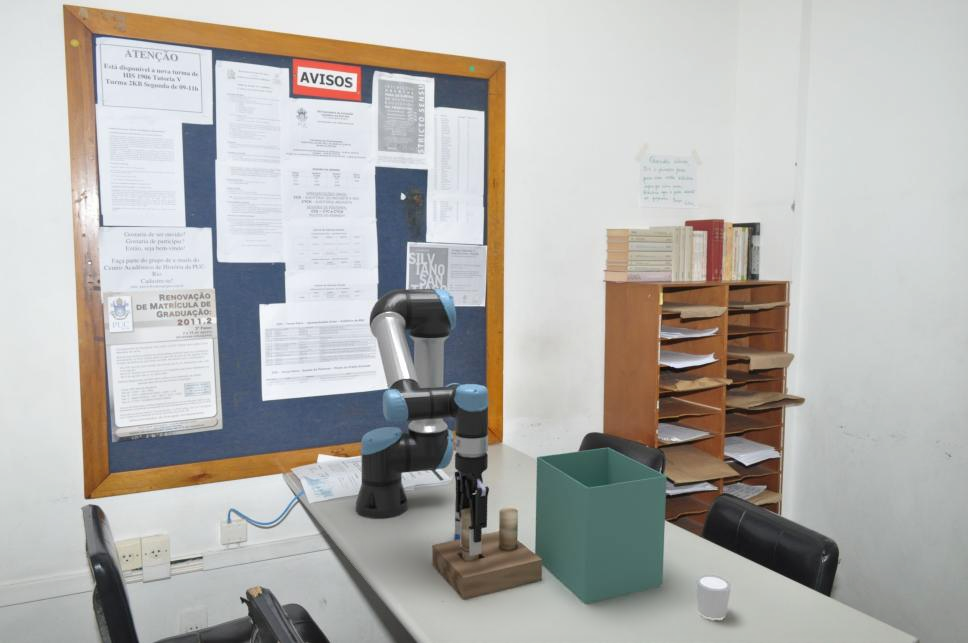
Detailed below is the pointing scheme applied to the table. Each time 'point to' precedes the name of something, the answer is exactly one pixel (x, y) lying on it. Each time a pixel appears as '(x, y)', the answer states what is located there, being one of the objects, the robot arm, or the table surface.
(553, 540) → the box
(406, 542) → the table surface
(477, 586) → the seat board
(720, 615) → the light grey short cylinder
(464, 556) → the beech leg
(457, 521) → the ink box
